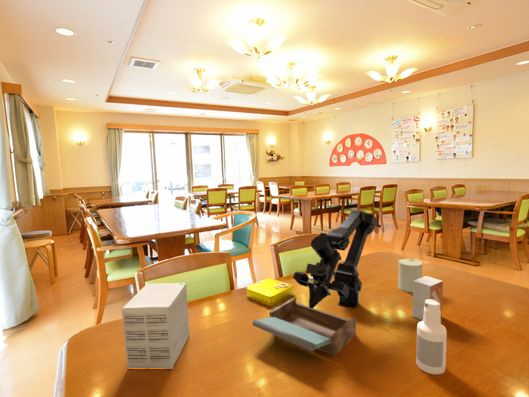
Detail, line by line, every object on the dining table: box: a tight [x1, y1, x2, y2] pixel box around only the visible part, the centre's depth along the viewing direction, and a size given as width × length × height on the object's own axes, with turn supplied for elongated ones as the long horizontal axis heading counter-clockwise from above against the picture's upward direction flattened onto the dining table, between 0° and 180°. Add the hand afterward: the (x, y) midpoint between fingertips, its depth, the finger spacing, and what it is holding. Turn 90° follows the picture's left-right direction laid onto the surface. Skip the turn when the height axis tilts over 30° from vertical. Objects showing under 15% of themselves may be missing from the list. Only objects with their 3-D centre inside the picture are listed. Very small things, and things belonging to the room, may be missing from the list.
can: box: [397, 258, 423, 294], centre depth 132 cm, size 9×9×12 cm
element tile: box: [246, 277, 294, 307], centre depth 130 cm, size 15×15×5 cm
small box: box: [411, 275, 444, 321], centre depth 108 cm, size 8×6×13 cm
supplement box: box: [121, 282, 190, 370], centre depth 92 cm, size 17×13×18 cm
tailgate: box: [252, 316, 330, 353], centre depth 92 cm, size 2×21×10 cm
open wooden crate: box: [269, 297, 357, 357], centre depth 101 cm, size 14×24×6 cm, turn 49°
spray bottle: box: [415, 299, 448, 376], centre depth 82 cm, size 7×7×18 cm
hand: (310, 307), depth 100 cm, fingers closed
